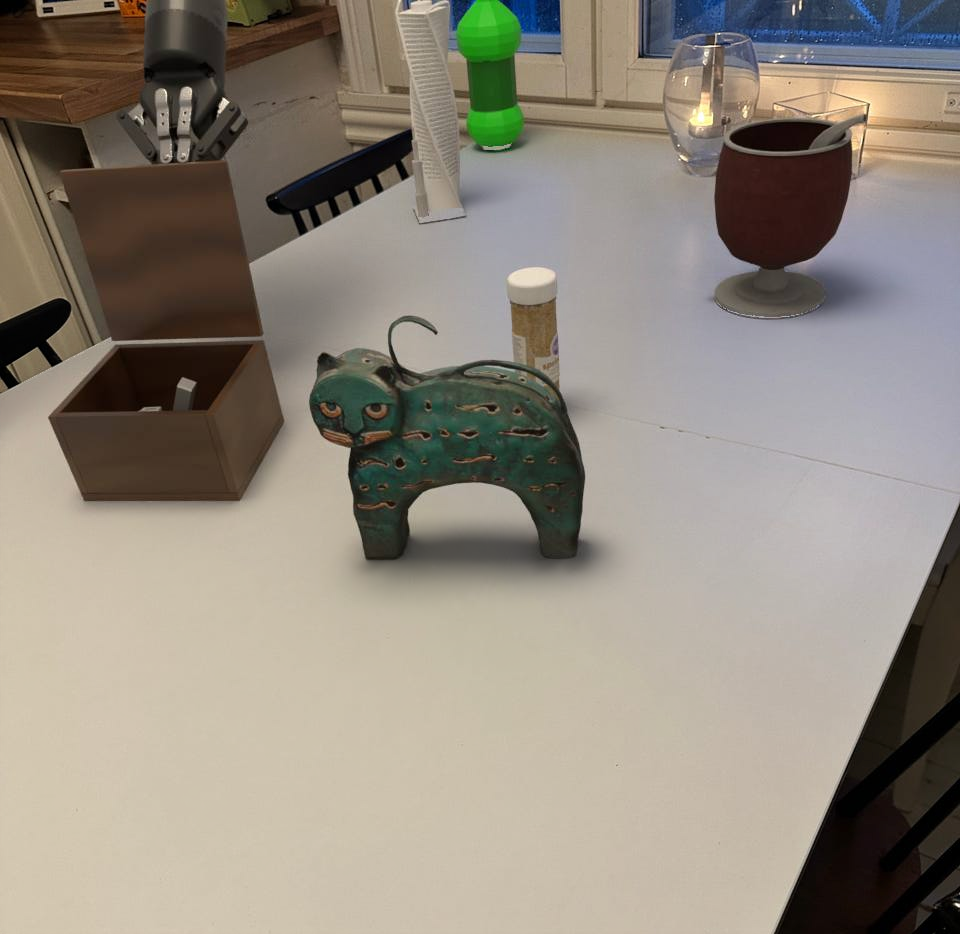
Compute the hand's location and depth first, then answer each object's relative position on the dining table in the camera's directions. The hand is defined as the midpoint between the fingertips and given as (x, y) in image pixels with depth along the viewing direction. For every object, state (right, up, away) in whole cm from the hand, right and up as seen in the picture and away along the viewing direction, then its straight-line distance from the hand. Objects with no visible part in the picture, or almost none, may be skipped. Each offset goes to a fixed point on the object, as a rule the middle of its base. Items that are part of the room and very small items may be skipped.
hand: (178, 208), depth 92 cm
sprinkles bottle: (+35, -18, +4) cm, 40 cm away
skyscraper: (+23, +23, +52) cm, 62 cm away
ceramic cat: (+28, -34, -12) cm, 45 cm away
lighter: (0, -24, +2) cm, 24 cm away
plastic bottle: (+32, +44, +75) cm, 93 cm away
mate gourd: (+63, -2, +19) cm, 66 cm away
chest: (0, -23, +3) cm, 24 cm away
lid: (0, -6, -3) cm, 6 cm away
